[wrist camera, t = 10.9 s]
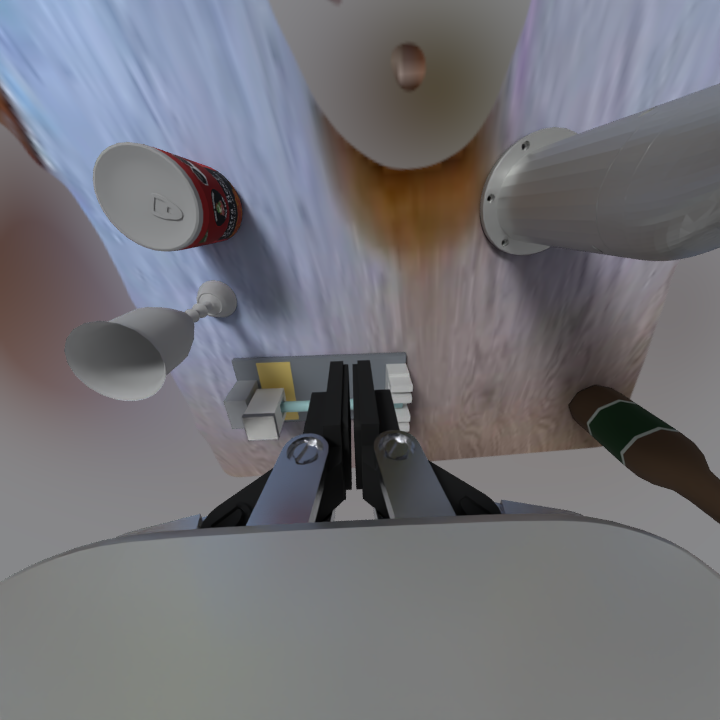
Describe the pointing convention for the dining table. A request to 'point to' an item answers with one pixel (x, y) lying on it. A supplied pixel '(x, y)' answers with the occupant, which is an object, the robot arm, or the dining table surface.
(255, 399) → the sleeve
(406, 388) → the cable rig
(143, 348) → the chalice
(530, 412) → the dining table surface
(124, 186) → the canned food
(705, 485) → the beer bottle
